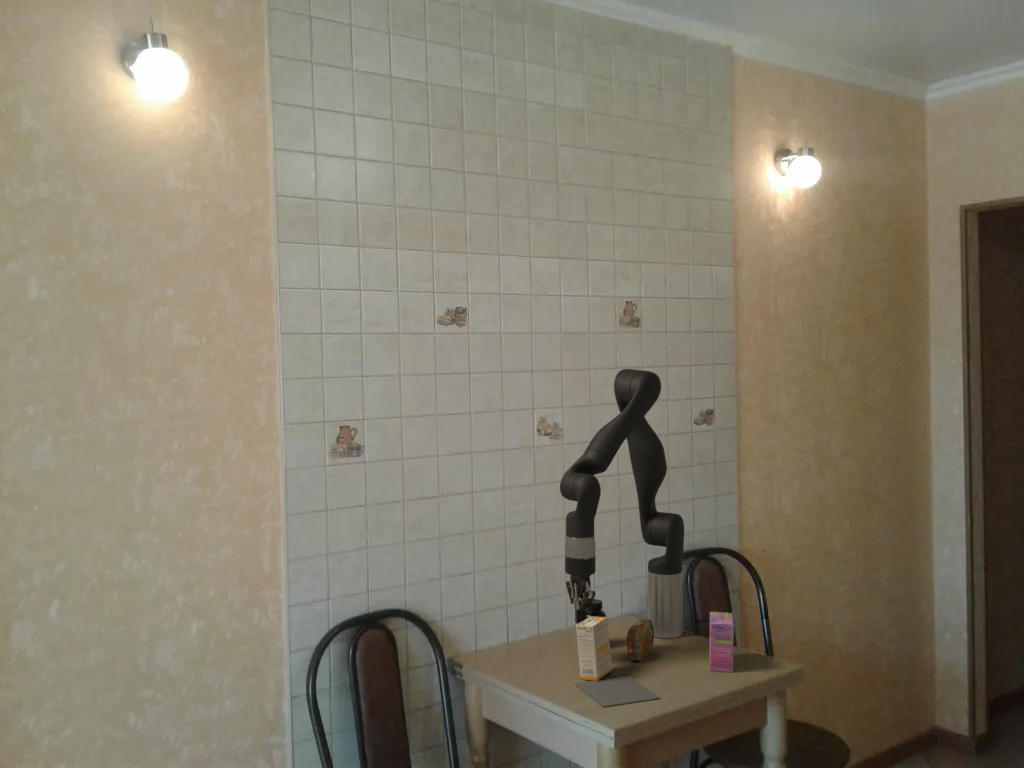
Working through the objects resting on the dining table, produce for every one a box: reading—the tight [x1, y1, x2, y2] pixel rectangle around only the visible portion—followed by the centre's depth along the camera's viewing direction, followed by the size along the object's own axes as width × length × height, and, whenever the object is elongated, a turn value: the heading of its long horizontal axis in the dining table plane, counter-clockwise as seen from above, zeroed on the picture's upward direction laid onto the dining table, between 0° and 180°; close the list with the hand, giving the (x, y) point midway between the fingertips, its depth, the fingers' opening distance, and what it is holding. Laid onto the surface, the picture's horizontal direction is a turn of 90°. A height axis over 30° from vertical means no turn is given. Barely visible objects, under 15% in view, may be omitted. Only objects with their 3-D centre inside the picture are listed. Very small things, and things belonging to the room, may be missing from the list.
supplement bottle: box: [586, 598, 607, 619], centre depth 245 cm, size 7×7×12 cm
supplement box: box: [575, 616, 613, 681], centre depth 223 cm, size 8×5×13 cm, turn 149°
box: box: [709, 611, 735, 674], centre depth 229 cm, size 10×6×12 cm, turn 168°
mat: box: [574, 675, 661, 708], centre depth 212 cm, size 15×14×1 cm
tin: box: [626, 619, 655, 662], centre depth 238 cm, size 15×3×8 cm, turn 154°
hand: (580, 623), depth 230 cm, fingers closed
